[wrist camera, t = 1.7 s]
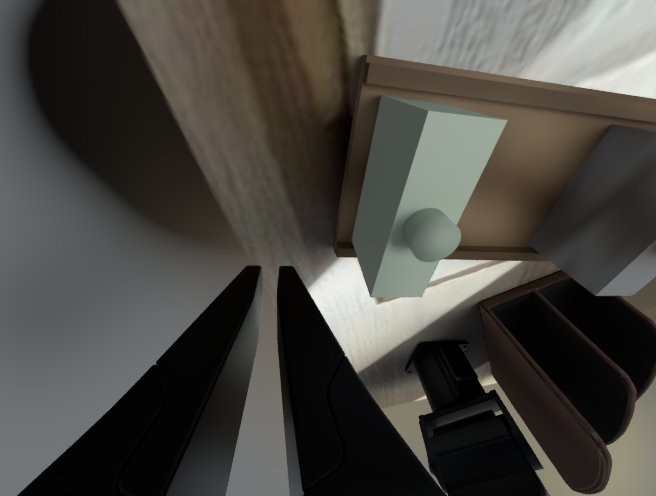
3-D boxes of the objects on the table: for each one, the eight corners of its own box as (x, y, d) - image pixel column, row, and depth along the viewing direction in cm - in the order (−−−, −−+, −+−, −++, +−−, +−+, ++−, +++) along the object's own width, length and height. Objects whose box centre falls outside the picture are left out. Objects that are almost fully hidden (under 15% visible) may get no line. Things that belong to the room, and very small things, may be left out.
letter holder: (490, 373, 38) (574, 504, 26) (475, 300, 26) (612, 476, 15) (560, 350, 36) (682, 481, 24) (576, 261, 24) (820, 430, 13)
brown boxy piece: (546, 251, 23) (645, 324, 16) (333, 245, 20) (352, 333, 13) (665, 101, 16) (920, 127, 9) (362, 55, 13) (434, 45, 6)
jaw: (390, 241, 18) (430, 314, 13) (351, 239, 18) (376, 315, 12) (435, 101, 13) (534, 127, 8) (381, 94, 13) (446, 116, 7)
